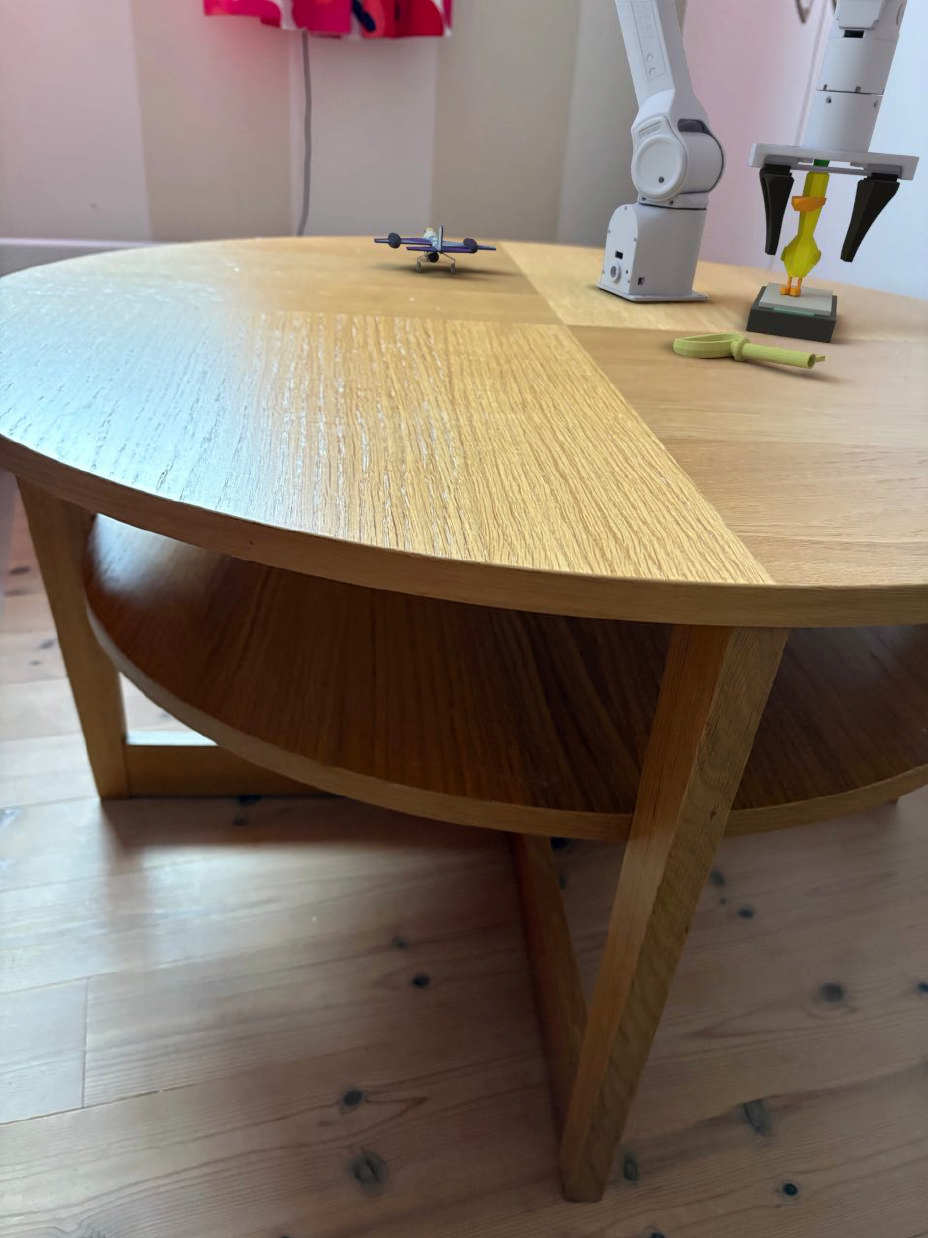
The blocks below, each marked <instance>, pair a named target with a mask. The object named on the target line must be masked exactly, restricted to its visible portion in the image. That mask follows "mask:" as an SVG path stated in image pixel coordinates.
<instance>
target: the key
mask: <svg viewBox="0 0 928 1238" xmlns="http://www.w3.org/2000/svg"><path fill="white" fill-rule="evenodd" d="M672 347H673V352H674V353H676V354H678V355H681V356H684V357H689V358H698V359H710V358H711V359H713V358H723V357H724V358H725V357H731V356H732V357H733V359H734V360H735V361H736V362H743V361H746V360H747V359H750V360H755V361H760V362H767V363H772V364H777V365H784V366H790V367H795V368H801V369H805V370H806V369H807V370H812V369H813V368H814V366H815V365H816V363H821V362H825V360H826V355H824V354H823V355H822V354H821V355H819V354H817V353H814V352H813V353H812V352H807V351H802V350H801V351H800V350H795V349H788V348H781V347H775V346H769V345H764V344H763V345H762V344H758V343H757V344H756V343H751V340H750V339H749V338H748V337H747V335H745V334H743V333H736V332H715V333H707V334H705V333H704V334H699V335H698V334H697V335H692V336H691V335H689V336H684V337H678V338H675V339H674V342H673V344H672Z"/></svg>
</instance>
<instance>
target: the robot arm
mask: <svg viewBox="0 0 928 1238" xmlns="http://www.w3.org/2000/svg"><path fill="white" fill-rule="evenodd" d="M614 3H615V9H616V12H617V16H618V21H619V25H620V30H621V34H622V38H623V43H624V47H625V52H626V56H627V62H628V66H629V70H630V75H631V78H632V84H633V88H634V92H635V97H636V101H637V105H638V112H637V114H636V117H635V118H634V121H633V124H632V125H631V127H630V134H631V139H632V147H633V151H632V152H633V153H632V159H631V163H630V174H631V175H630V176H631V179H632V183H633V185H634V187H635V189H636V191H637V192H638V195H637V201H636V202H635V203H627V204H623V205H620V206H619V207H617V208H616V209H615V210H614V212H613V214H612V216H611V218H610V220H609V223H608V227H607V234H606V240H605V247H604V255H603V262H602V267H601V268H602V269H601V276H600V281H596V287H597V288H600V289H602V290H605V291H607V292H609V293H611V294H614V295H617V296H619V297H621V298H624V299H627V300H629V301H632V302H675V301H677V302H679V301H680V302H681V301H682V302H683V301H688V302H689V301H708V300H709V295H707V294H704V293H702V292H700V291H699V292H698V291H696V290H694V289H693V287H694V281H695V276H696V273H697V272H696V271H697V267H698V262H699V256H700V251H701V246H702V240H703V236H704V229H705V225H706V220H707V214H708V207H709V204H710V200H709V195H710V193H712V192H713V191H714V190H715V189H716V188H717V187H718V185H720V182H721V180H722V179H723V177H724V173H725V170H726V165H727V155H726V150H725V147H724V145H723V143H722V141H721V140H720V139H719V138H718V137H717V135H716V134H715V132H714V131H713V129H712V127H711V123H710V119H709V115H708V112H707V111H706V109H705V108H704V106H703V104H702V103H701V102H700V100H699V99H698V97H697V95H696V94H695V92H694V89H693V84H692V80H691V74H690V70H689V65H688V61H687V56H686V51H685V46H684V41H683V36H682V31H681V27H680V22H679V18H678V12H677V8H676V7H677V6H676V3H675V0H614ZM907 4H908V0H837V1H836V5H835V9H834V14H833V19H832V23H831V27H830V29H829V31H828V36H827V41H826V44H825V48H824V53H823V58H822V61H821V66H820V71H819V74H818V79H817V82H816V83H817V84H816V88H815V91H814V95H813V100H812V103H811V108H810V113H809V117H808V121H807V125H806V129H805V134H804V138H803V143H802V145H790V144H789V145H787V144H775V143H761V142H752V145H751V149H750V153H749V159H748V163H747V165H748V167H750V168H759V172H758V177H759V182H760V187H761V193H762V197H763V204H764V215H765V245H764V247H765V248H764V253H765V254H766V255H768V256H776V254H777V252H778V248H779V245H780V244H779V243H780V240H781V233H782V228H783V221H784V216H785V213H786V210H787V206H788V203H789V198H790V196H791V192H792V189H793V187H794V183H795V178H794V177H793V172H791V171H800V172H809V171H812V172H823V173H829V174H834V175H835V174H836V175H846V176H847V175H849V176H859V177H860V176H861V177H863V179H862V178H861V179H860V180H858V181H857V184H856V190H855V195H854V201H853V208H852V212H851V217H850V221H849V224H848V228H847V231H846V234H845V237H844V240H843V243H842V246H841V251H840V257H839V259H840V260H841V261H843V262H845V263H853V262H854V259H855V257H856V254H857V252H858V250H859V249H860V246H861V245H862V243H863V241H864V239H865V237H866V235H867V234H868V232H869V231H870V229H871V227H872V226H873V224H874V223H875V221H876V220H877V218H878V217H879V215H880V214H881V213H882V212H883V210H884V209H885V208H886V206H887V205H888V204H889V203H890V201H892V199H893V198H894V197H895V196H896V195H897V192H898V191H899V188H900V186H901V182H899V181H898V180H901V181H913V180H914V178H915V174H916V171H917V167H918V164H919V161H920V156H916V155H907V154H906V155H905V154H894V153H886V152H885V153H884V152H873V151H869V149H870V145H871V143H872V138H873V135H874V131H875V127H876V123H877V120H878V116H879V113H880V109H881V106H882V103H883V97H884V94H885V91H886V86H887V83H888V80H889V75H890V72H891V68H892V64H893V61H894V57H895V53H896V50H897V45H898V43H899V39H900V30H901V27H902V23H903V19H904V16H905V11H906V8H907ZM814 159H818V160H828V161H830V162H839V163H849V166H850V168H849V167H838V166H828V167H827V166H815V165H813V162H814ZM800 163H801V164H800ZM851 167H853V168H851ZM859 168H860V169H859Z"/></svg>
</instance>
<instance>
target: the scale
mask: <svg viewBox="0 0 928 1238" xmlns="http://www.w3.org/2000/svg"><path fill="white" fill-rule="evenodd" d="M781 286H787V283H786V284H785V283H777V282H770V281H769V282H768V283H767V286H766V285H762V286H761V288H760V290H759V291H758V294H757V295H756V298H755V300H754V301H753V303H752V304H751V307H750V309H749V314H748V319H747V323H746V327H745V331H746V332H753V333H760V334H767V335H774V336H780V337H787V338H796V339H802V340H808V341H815V342H822V343H831V341H832V337H833V334H834V331H835V327H836V323H837V313H838V312H837V311H838V295H835V294H833V292H834V290H831V289H823V288H817V287H816V288H815V287H808V286H801V287H800V288H801V294H800V295H798V296H793V295H790V294H780V290H781ZM791 287H795V288H796V287H797V285H793V284H791Z"/></svg>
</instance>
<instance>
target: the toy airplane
mask: <svg viewBox="0 0 928 1238" xmlns="http://www.w3.org/2000/svg"><path fill="white" fill-rule="evenodd" d="M423 231H424V234H423V237H401V236H400V234H398V233H396V232H390V233H388V236H387V237H385V238H378V237H375V238H373V242H374V243H375V244H388V245H387V246H389V247H390V248H391V249H394V250H395V249H396V250H397V249H399V248H400V247H401V245H408V246H405V249H406V250H407V251H411V252H423V254H422V255H420V256H417V257H416V267H415V268H416V271H417V272H418V273H420V272H421V270H422V263H421V262H420V261H419V259H422V258H425V260H426V261H427V262H428V261H429V262H430V263H434V264H435V263H438V261H439V260H440V255H443V256H445V257H447V258H448V259H450V260H452V261H453V262H452V263H450V269H449V270H450V273H451V274H455V273H456V258H454V257H452V256H450V255H448V254H469V255H471V254H472V255H473V254H474V255H475V254H476V253H478V251H492V252H493V251H495V252H496V251H497V248H496V246H495V245H488V244H487V245H486V244H478V242H477V241H476V240H475V239H474V238H471V237H470V238H469V237H466V238H464V239H463V240H462V242H457V241H451V240H444V226H443V225H441V224H440V225H439V230H438V234H437V232H435V231H434V228H433V227H430V226H429V227H427V228H426V230H423ZM409 245H411V246H409Z"/></svg>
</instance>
